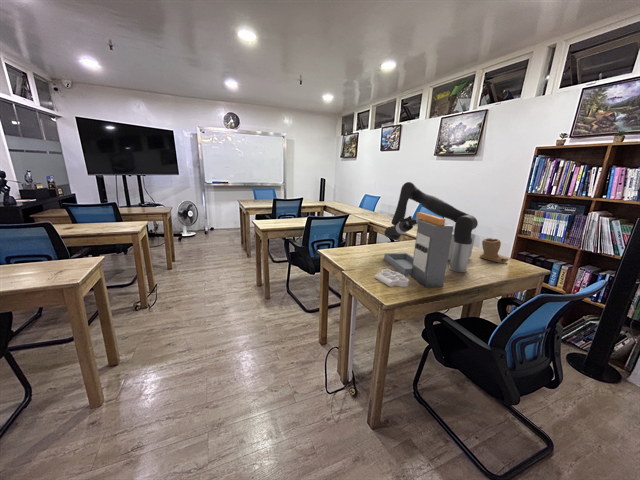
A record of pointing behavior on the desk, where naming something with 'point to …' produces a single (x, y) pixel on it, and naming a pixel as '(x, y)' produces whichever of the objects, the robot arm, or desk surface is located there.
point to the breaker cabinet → (431, 253)
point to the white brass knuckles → (392, 278)
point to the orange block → (430, 218)
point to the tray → (400, 262)
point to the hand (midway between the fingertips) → (418, 217)
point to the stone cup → (492, 250)
